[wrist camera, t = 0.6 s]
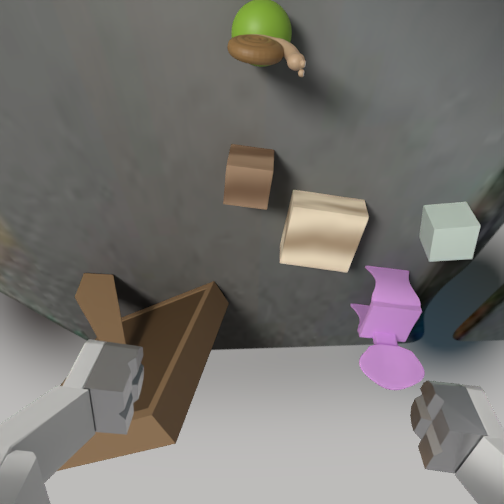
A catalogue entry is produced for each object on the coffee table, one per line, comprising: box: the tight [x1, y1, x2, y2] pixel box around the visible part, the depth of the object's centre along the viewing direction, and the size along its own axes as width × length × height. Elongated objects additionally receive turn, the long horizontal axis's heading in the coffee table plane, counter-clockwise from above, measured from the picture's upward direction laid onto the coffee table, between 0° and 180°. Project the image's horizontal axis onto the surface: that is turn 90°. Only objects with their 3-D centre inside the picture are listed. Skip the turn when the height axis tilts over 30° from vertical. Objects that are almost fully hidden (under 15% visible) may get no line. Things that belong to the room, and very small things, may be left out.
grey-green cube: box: [419, 202, 480, 262], centre depth 51 cm, size 5×5×5 cm
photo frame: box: [57, 273, 229, 471], centre depth 55 cm, size 15×22×25 cm
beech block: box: [280, 190, 369, 272], centre depth 53 cm, size 9×9×4 cm
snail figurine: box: [228, 0, 306, 77], centre depth 35 cm, size 5×6×12 cm
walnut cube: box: [223, 144, 274, 210], centre depth 48 cm, size 5×5×5 cm
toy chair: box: [350, 266, 424, 390], centre depth 56 cm, size 8×9×15 cm
